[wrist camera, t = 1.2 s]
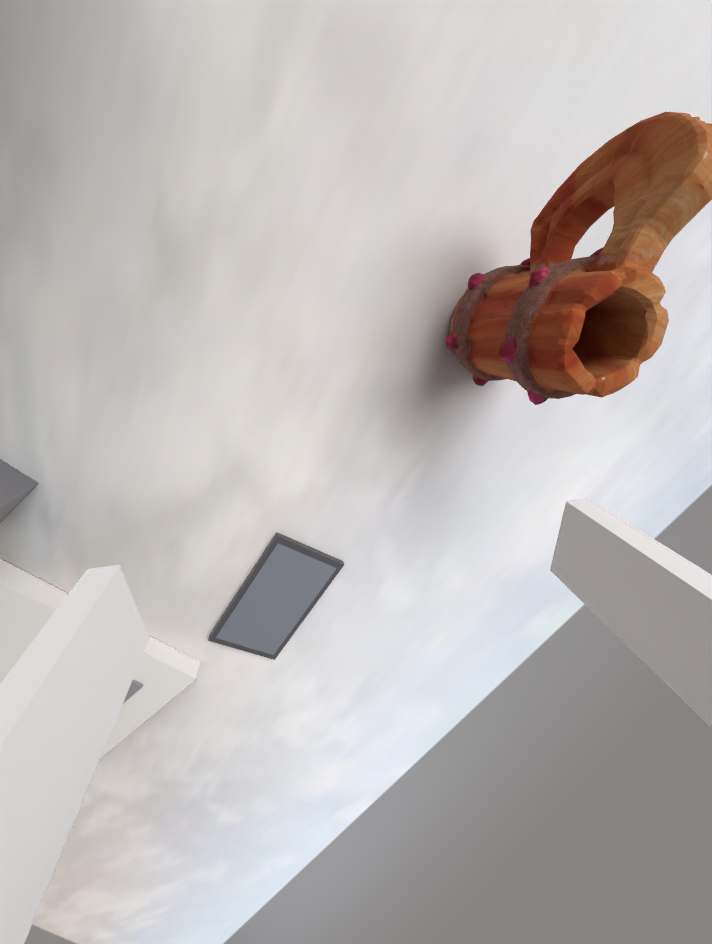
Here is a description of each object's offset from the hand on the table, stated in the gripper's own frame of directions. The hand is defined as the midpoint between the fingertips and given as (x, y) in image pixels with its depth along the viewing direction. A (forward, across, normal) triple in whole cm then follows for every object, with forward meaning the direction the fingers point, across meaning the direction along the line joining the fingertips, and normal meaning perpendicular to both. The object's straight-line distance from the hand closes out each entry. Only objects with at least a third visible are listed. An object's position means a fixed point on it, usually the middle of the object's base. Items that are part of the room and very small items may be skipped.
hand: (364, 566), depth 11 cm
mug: (+23, +16, +8) cm, 29 cm away
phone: (+23, -6, -21) cm, 32 cm away
